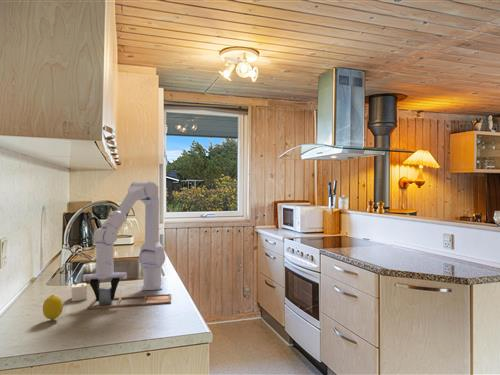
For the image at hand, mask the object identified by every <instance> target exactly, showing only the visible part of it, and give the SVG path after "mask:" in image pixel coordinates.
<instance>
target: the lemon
mask: <svg viewBox="0 0 500 375" xmlns="http://www.w3.org/2000/svg"><path fill="white" fill-rule="evenodd" d="M63 307H64V306H63V301H62V299H61V297H59V296H58V295H54V294H51V295H50V296H48V297H47V298H46V299H45V300H44V302H43V305H42V313H43V316H44V318H46V319H47V320H48V319H49V320H51V321H55V320H56V319H57V318H58V317H60V315H61V314H62V312H63V309H64V308H63Z"/></svg>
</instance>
